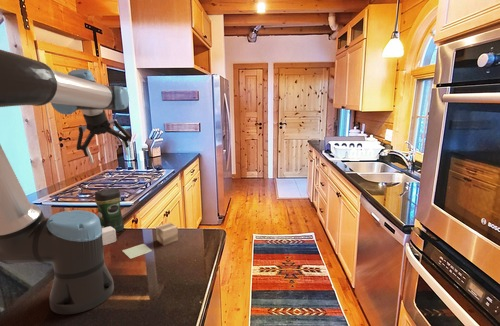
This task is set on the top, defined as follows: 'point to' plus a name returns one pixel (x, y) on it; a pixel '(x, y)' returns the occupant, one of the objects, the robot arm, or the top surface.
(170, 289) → the top surface
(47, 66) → the robot arm
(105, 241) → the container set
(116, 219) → the coffee jar
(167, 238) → the maple block
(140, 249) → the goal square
